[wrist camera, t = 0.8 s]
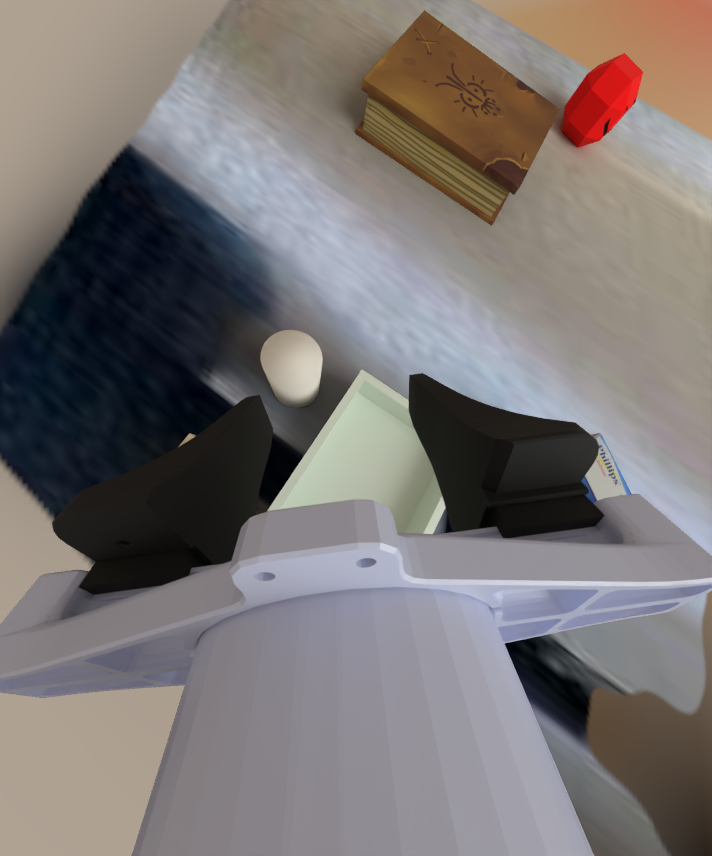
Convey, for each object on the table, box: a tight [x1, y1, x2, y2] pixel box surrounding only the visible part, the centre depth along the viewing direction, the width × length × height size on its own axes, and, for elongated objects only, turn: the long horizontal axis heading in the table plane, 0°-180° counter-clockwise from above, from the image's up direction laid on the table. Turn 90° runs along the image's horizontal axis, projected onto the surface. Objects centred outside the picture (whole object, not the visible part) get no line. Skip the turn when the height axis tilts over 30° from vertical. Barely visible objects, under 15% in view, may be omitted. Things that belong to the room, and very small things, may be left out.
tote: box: [268, 370, 445, 534], centre depth 25 cm, size 18×14×4 cm
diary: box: [356, 10, 560, 225], centre depth 36 cm, size 23×19×6 cm
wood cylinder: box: [260, 330, 322, 408], centre depth 24 cm, size 5×5×7 cm
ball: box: [562, 53, 643, 147], centre depth 41 cm, size 8×8×8 cm
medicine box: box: [581, 433, 631, 503], centre depth 27 cm, size 8×4×9 cm, turn 23°
